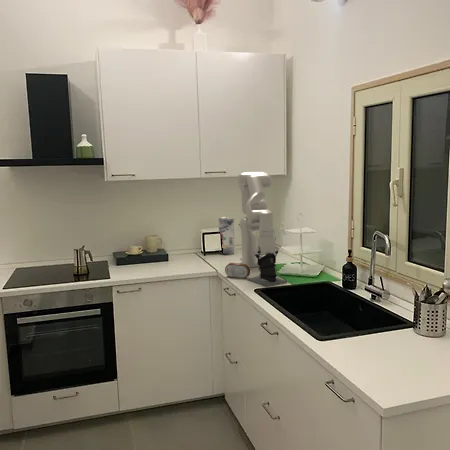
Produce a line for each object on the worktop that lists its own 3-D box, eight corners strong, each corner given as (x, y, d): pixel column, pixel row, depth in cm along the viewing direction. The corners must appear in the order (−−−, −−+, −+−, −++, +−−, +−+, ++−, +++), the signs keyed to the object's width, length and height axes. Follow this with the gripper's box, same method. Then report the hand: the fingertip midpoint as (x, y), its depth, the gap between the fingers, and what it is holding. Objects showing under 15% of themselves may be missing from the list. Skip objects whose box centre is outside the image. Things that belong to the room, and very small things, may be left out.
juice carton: (228, 251, 351) (227, 215, 347) (236, 254, 342) (235, 216, 338) (217, 253, 346) (217, 216, 342) (225, 255, 337) (224, 217, 333)
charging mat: (247, 280, 269) (247, 274, 268) (267, 276, 276) (267, 270, 276) (266, 286, 254) (266, 280, 253) (286, 282, 261) (286, 276, 261)
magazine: (274, 280, 256) (267, 253, 259) (261, 286, 266) (254, 260, 270) (280, 279, 258) (272, 253, 261) (267, 284, 268) (260, 259, 272)
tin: (250, 278, 273) (250, 263, 272) (248, 279, 271) (248, 264, 269) (226, 275, 280) (226, 261, 278) (224, 277, 277) (224, 263, 276)
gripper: (274, 231, 269) (274, 261, 271) (249, 234, 260) (250, 265, 262) (283, 233, 263) (283, 263, 265) (257, 236, 253) (258, 267, 256)
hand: (266, 264), depth 264 cm, fingers open, 9 cm apart
